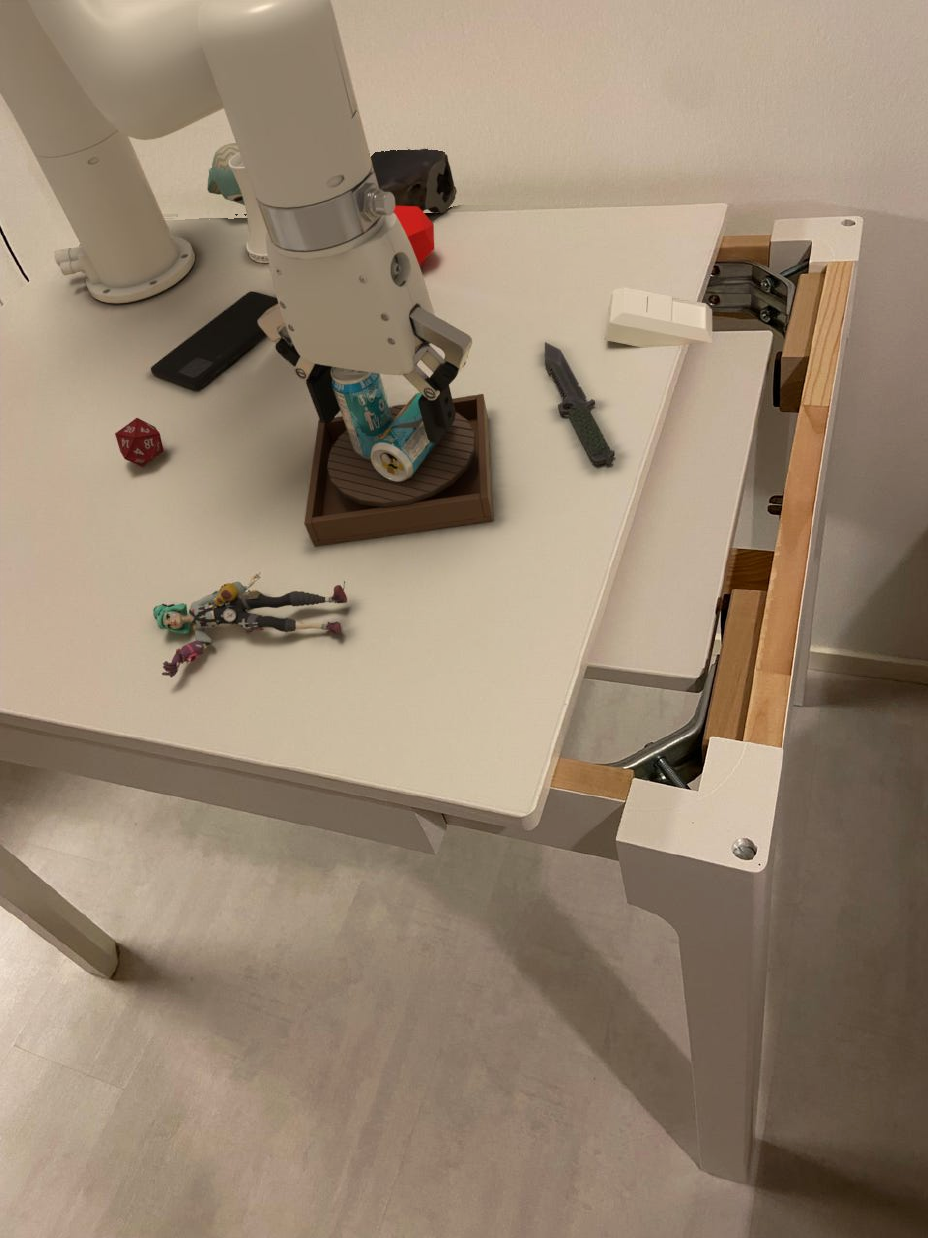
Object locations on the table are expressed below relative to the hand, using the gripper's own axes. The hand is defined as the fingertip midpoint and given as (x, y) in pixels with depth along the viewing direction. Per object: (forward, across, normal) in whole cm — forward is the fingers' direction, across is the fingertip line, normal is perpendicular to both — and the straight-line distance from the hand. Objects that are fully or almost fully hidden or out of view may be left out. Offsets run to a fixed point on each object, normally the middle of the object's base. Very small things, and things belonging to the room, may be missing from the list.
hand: (387, 421), depth 72 cm
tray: (+6, 0, 0) cm, 6 cm away
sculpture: (+5, +16, -35) cm, 39 cm away
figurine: (+4, -4, +15) cm, 16 cm away
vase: (+6, +34, -32) cm, 46 cm away
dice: (+6, +25, +4) cm, 26 cm away
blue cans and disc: (+4, 0, 0) cm, 4 cm away
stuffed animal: (+7, +44, -44) cm, 63 cm away
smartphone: (+6, +28, -14) cm, 32 cm away
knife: (+5, -11, -13) cm, 18 cm away
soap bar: (+6, -13, -24) cm, 28 cm away
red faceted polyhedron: (+2, +12, -32) cm, 34 cm away
